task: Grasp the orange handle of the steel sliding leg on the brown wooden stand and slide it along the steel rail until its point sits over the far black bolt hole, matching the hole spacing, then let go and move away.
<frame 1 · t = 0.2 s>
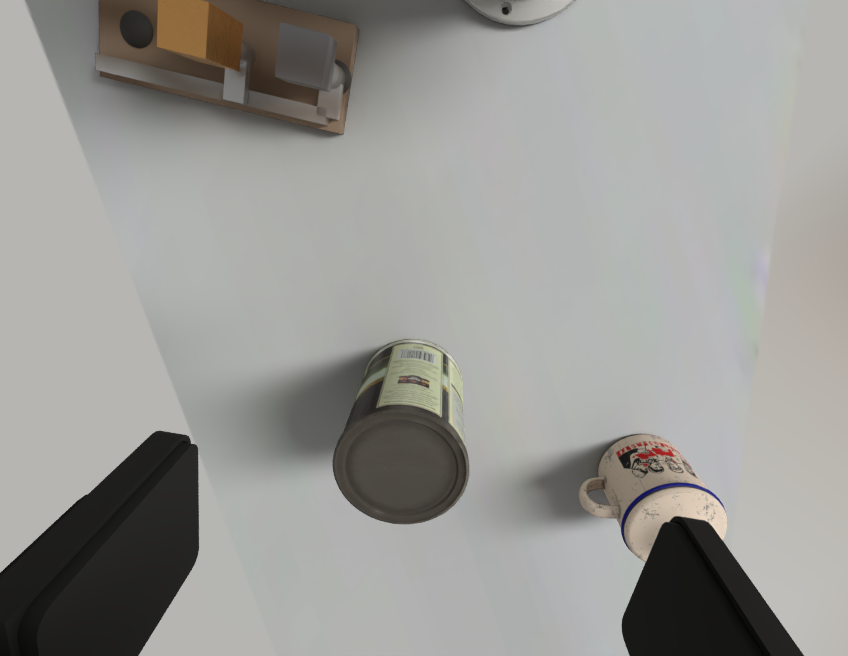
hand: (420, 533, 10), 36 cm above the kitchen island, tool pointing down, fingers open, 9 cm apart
brown wooden stand: (232, 54, 39), on the kitchen island
sliding leg: (218, 58, 33), point 7 cm above the kitchen island, slide at 7.0 cm
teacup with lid: (623, 465, 51), on the kitchen island
coffee can: (413, 384, 49), on the kitchen island
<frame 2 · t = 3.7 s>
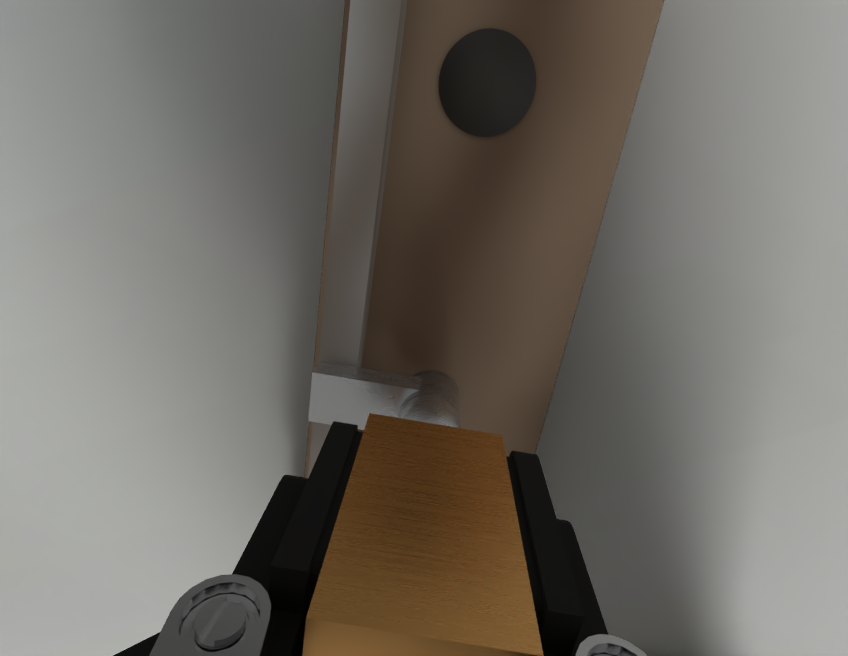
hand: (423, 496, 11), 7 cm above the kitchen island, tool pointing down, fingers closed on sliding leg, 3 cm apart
brown wooden stand: (443, 311, 17), on the kitchen island
sliding leg: (382, 475, 11), point 7 cm above the kitchen island, slide at 7.0 cm, touching gripper
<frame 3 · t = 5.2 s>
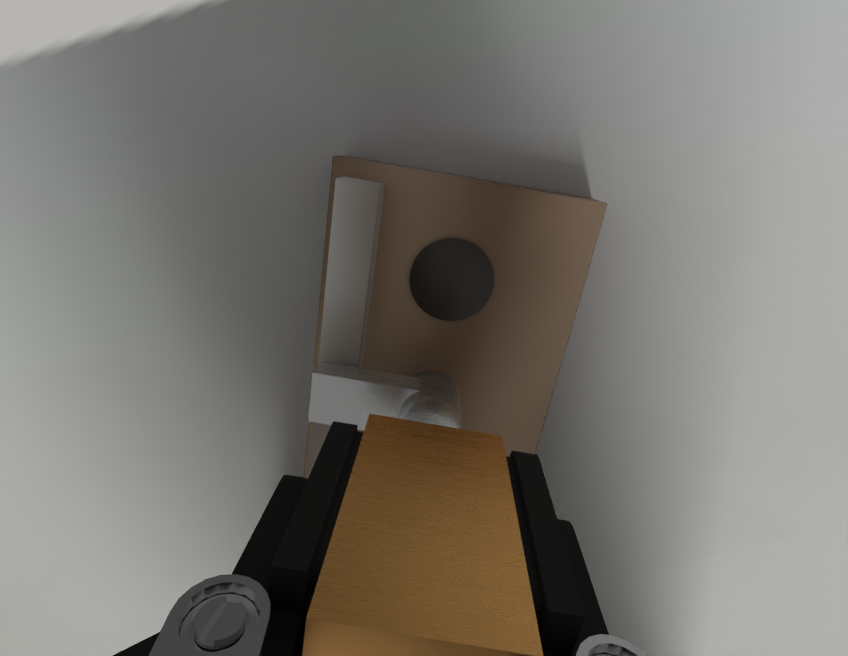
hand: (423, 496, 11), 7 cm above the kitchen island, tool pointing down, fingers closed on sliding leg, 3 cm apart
brown wooden stand: (418, 443, 19), on the kitchen island
sliding leg: (382, 476, 11), point 7 cm above the kitchen island, slide at 12.5 cm, touching gripper
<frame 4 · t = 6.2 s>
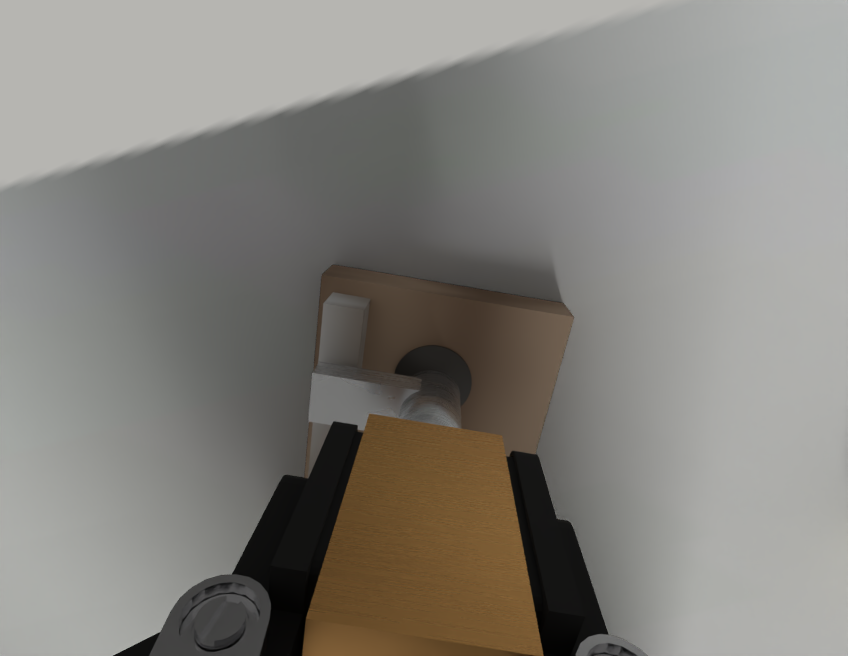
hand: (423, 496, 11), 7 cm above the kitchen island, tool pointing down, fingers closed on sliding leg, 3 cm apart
brown wooden stand: (406, 515, 20), on the kitchen island
sliding leg: (382, 476, 11), point 7 cm above the kitchen island, slide at 16.0 cm, touching gripper
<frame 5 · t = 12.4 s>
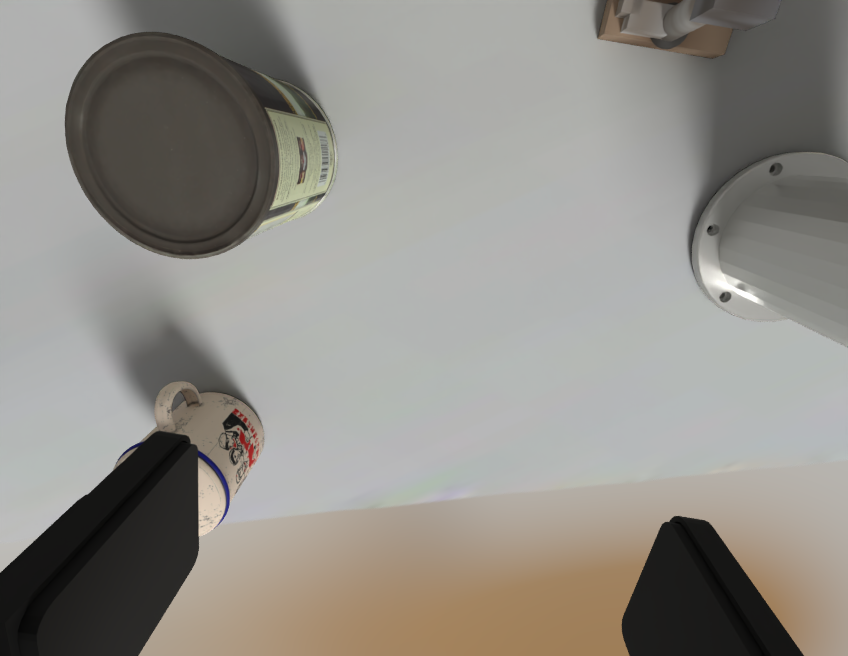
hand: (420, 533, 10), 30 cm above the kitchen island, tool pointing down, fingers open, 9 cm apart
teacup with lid: (218, 416, 45), on the kitchen island
coffee can: (272, 154, 36), on the kitchen island
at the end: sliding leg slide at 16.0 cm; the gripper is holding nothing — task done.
